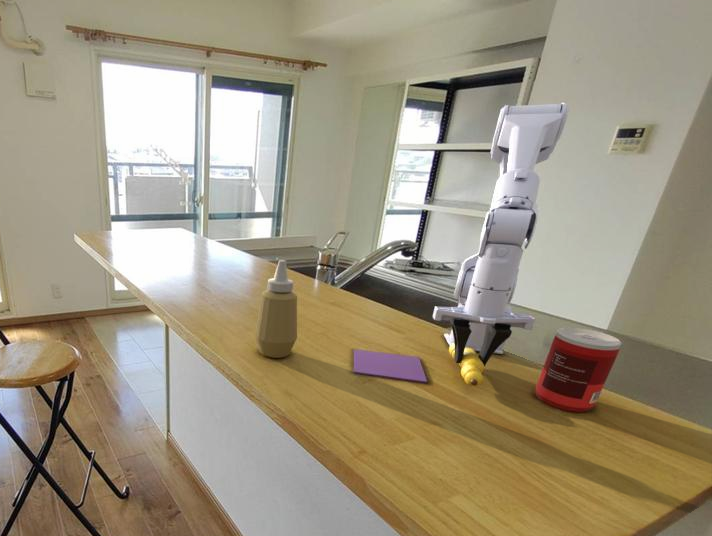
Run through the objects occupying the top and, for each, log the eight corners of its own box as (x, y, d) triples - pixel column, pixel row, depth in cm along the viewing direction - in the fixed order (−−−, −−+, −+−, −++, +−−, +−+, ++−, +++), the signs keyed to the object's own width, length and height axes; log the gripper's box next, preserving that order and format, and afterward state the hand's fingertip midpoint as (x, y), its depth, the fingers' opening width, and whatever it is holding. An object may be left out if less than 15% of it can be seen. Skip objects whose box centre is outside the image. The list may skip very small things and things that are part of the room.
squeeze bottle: (250, 345, 87) (256, 256, 80) (289, 344, 88) (298, 256, 80) (257, 361, 80) (264, 265, 72) (300, 360, 80) (310, 265, 73)
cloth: (418, 358, 82) (418, 357, 82) (426, 383, 73) (427, 381, 73) (353, 350, 86) (354, 349, 85) (353, 373, 76) (354, 371, 76)
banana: (465, 353, 82) (470, 337, 81) (491, 393, 67) (496, 375, 66) (445, 350, 83) (449, 335, 82) (465, 389, 68) (471, 372, 67)
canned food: (580, 393, 70) (607, 330, 66) (603, 417, 63) (634, 349, 59) (526, 385, 73) (548, 324, 68) (543, 408, 66) (568, 341, 61)
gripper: (446, 288, 68) (427, 365, 73) (552, 297, 64) (524, 378, 69) (438, 278, 74) (421, 350, 79) (535, 286, 70) (510, 361, 76)
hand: (468, 362), depth 75 cm, fingers closed on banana, 3 cm apart
